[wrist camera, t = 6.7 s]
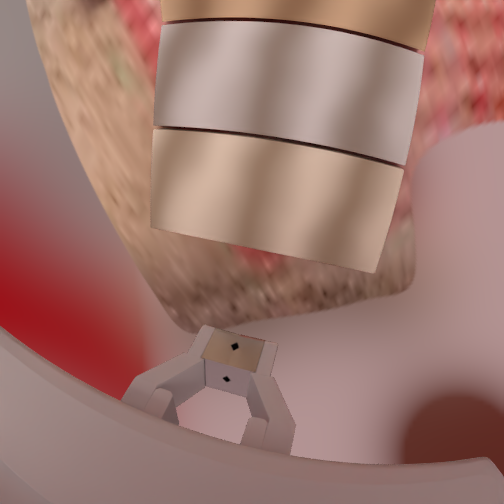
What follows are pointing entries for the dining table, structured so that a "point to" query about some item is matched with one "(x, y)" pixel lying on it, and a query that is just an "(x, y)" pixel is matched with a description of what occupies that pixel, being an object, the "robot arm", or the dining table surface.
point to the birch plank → (273, 196)
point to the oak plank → (322, 14)
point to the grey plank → (289, 85)
